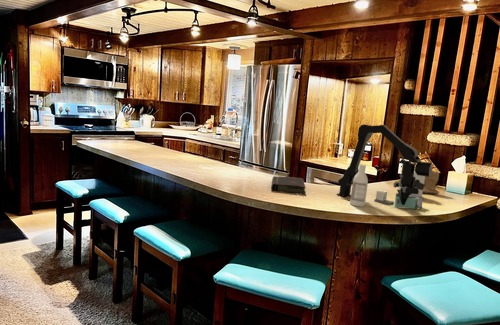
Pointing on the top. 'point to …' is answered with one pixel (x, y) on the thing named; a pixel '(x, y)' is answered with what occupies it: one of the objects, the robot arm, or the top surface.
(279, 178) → the diary
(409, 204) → the teal rectangular slab
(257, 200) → the top surface
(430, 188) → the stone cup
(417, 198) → the rack
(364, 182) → the bath foam
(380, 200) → the mixer board
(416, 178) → the supplement box
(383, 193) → the fader knob
